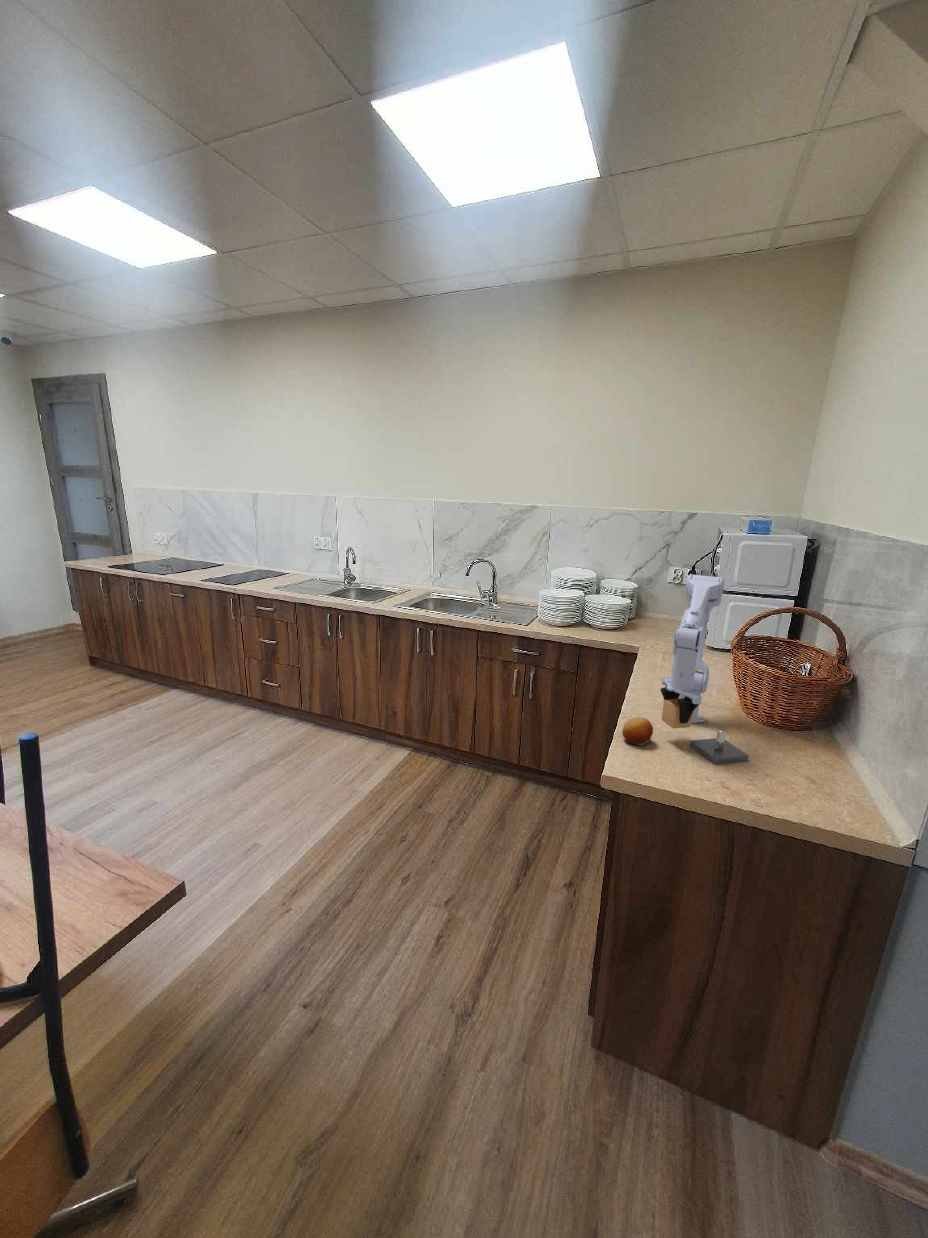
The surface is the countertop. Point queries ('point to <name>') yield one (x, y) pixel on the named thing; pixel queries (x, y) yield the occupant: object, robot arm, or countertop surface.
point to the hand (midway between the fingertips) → (676, 718)
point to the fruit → (638, 731)
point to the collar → (673, 714)
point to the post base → (719, 749)
